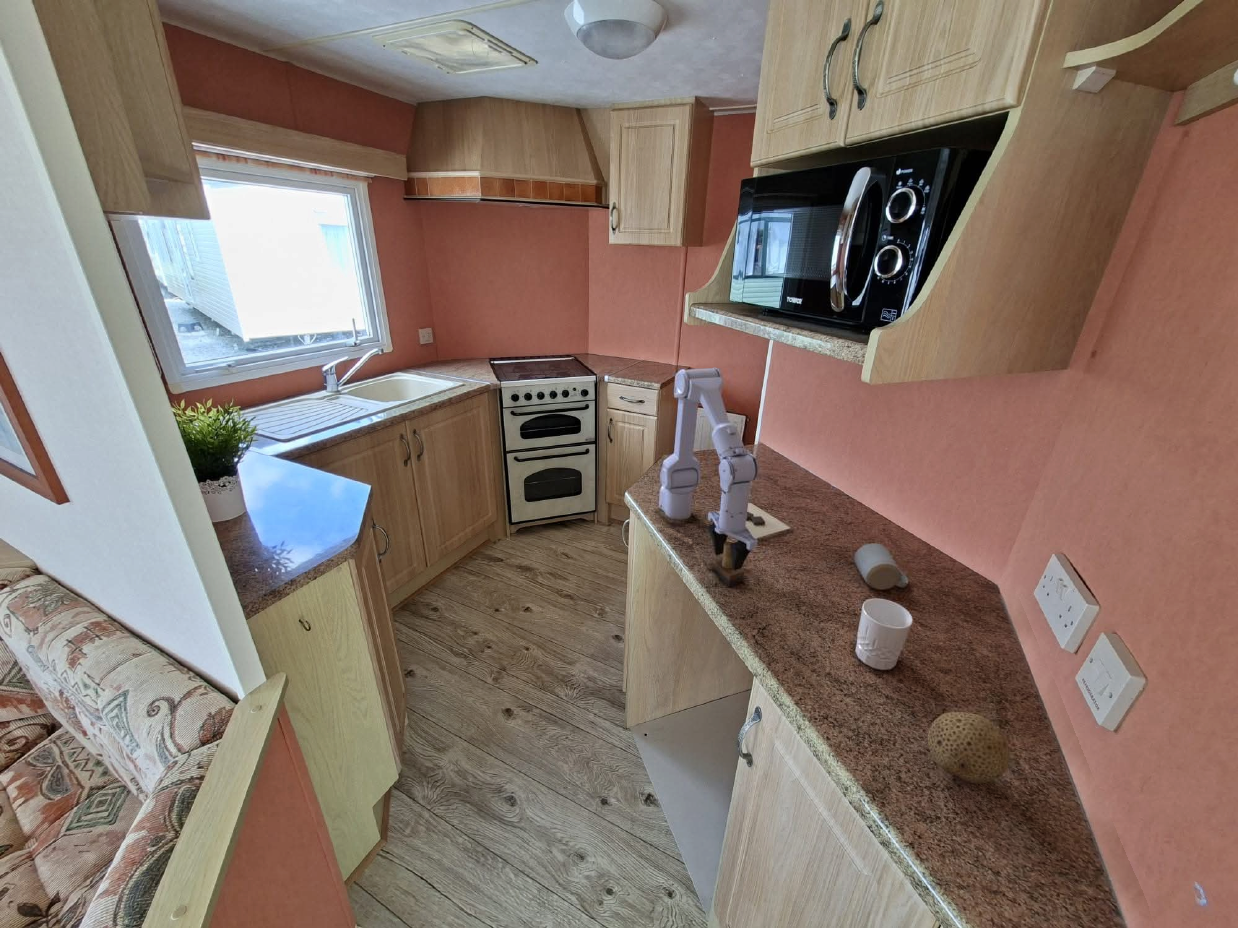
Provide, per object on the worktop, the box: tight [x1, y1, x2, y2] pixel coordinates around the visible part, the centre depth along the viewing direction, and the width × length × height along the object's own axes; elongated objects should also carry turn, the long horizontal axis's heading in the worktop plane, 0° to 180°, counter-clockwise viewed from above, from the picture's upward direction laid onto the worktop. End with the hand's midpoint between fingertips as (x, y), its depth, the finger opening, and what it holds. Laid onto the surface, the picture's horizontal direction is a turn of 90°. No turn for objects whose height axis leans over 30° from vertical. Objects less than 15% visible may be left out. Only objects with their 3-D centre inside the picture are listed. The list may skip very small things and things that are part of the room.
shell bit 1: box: [746, 512, 754, 521], centre depth 135 cm, size 3×3×1 cm
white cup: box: [855, 598, 914, 671], centre depth 88 cm, size 8×8×10 cm
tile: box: [716, 502, 791, 540], centre depth 134 cm, size 16×13×1 cm
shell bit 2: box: [750, 516, 765, 525], centre depth 132 cm, size 3×3×1 cm
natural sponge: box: [927, 711, 1011, 784], centre depth 68 cm, size 9×9×10 cm
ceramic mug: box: [853, 542, 909, 591], centre depth 109 cm, size 11×8×8 cm
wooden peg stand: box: [710, 541, 745, 587], centre depth 111 cm, size 7×4×8 cm, turn 27°
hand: (727, 560), depth 111 cm, fingers open, 6 cm apart
